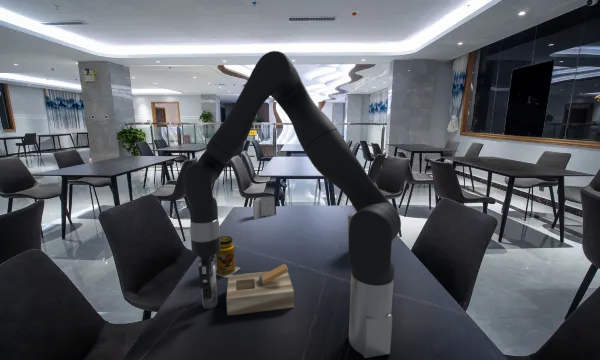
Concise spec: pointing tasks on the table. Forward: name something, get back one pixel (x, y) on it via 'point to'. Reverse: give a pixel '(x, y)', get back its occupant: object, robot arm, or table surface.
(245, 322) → the table surface
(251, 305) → the birch block
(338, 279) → the table surface
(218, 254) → the condiment
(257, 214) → the hinge
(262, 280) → the latch arm
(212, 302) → the steel peg
